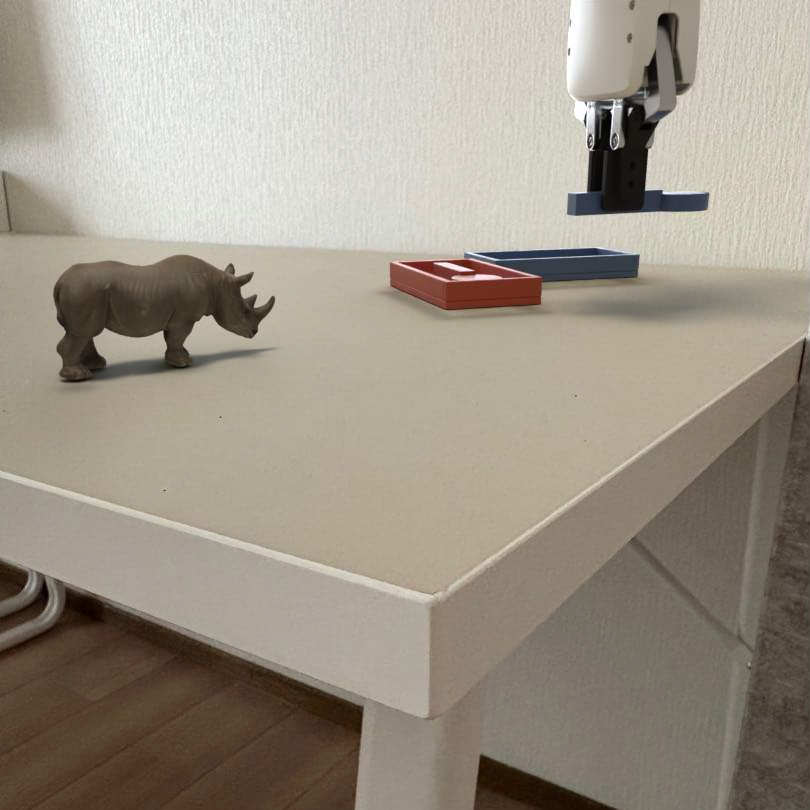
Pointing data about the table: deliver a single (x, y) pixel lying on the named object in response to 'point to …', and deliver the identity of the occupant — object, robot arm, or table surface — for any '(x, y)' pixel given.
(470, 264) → the red tray
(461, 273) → the red spoon
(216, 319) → the rhino figurine
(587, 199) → the blue spoon
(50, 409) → the table surface
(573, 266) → the blue tray
